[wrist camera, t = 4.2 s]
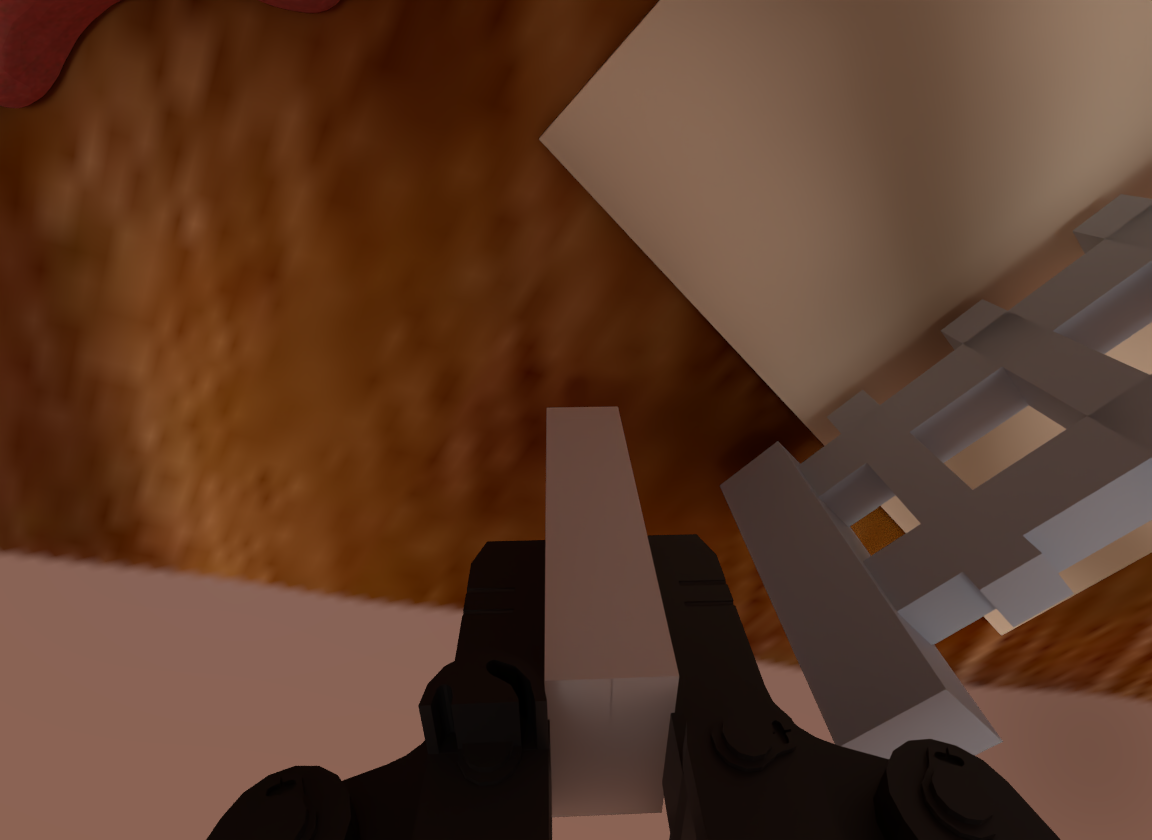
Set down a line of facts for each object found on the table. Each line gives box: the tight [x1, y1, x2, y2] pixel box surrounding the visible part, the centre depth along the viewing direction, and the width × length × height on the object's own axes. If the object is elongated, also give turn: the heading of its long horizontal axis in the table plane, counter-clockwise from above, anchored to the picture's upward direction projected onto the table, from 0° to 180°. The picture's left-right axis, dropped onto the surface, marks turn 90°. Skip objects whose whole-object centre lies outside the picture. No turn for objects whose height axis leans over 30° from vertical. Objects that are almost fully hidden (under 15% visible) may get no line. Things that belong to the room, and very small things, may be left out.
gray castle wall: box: [720, 194, 1152, 759], centre depth 10 cm, size 12×2×7 cm, turn 135°
